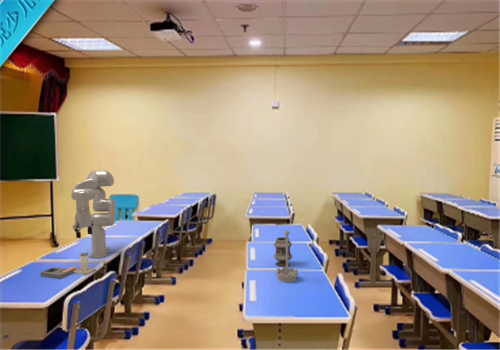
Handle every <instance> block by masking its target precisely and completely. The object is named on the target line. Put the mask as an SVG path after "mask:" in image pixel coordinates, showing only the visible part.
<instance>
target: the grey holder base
mask: <svg viewBox="0 0 500 350" xmlns="http://www.w3.org/2000/svg"><path fill="white" fill-rule="evenodd" d="M66 269H67V268H65V267H64V268H62V267H56V266H53V267H51V268H48V269H45V270H43V271H40V277H43V278H49V279H50V278H52V279H55V280H57V279H58V280H63V279H64V278H67V277H68V276H69V277H70V276H71V275H73V274H74V272H73V270H68V271H66V272H64V273H63V272H62V271H64V270H66Z"/></svg>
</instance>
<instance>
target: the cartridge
mask: <svg viewBox="0 0 500 350" xmlns="http://www.w3.org/2000/svg"><path fill="white" fill-rule="evenodd" d="M79 257H80V268H81V272H87V271H89V268H90V267H89V266H90V265H89V252H80V254H79Z"/></svg>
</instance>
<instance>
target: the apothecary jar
mask: <svg viewBox="0 0 500 350" xmlns="http://www.w3.org/2000/svg"><path fill="white" fill-rule="evenodd" d="M273 247H275V253H274V254H273V257H274V259H275V260H276V261H277V262H276V263H275V265H276V266H277V267H279V268H280V267H281V268H282V267H286V236H280V237H277V238H276V240H275V241H274V243H273ZM291 247H292V242H291V241H290V238H289V237H288V267H290V265H291V263H290V262H289V261H290V260H292V258H293V254H291Z"/></svg>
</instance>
